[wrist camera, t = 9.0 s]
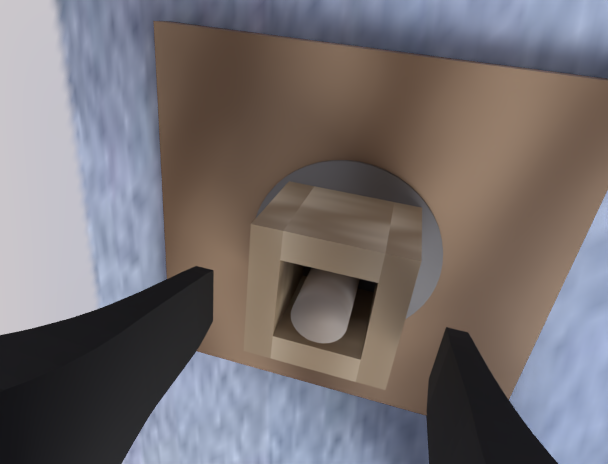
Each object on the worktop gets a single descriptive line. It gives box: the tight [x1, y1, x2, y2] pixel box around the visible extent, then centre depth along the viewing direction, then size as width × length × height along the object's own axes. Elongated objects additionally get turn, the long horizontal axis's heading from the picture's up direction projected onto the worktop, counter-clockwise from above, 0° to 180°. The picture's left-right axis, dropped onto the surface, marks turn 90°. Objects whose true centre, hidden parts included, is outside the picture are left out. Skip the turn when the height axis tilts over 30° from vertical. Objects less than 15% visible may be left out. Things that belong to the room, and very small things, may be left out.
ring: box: [244, 181, 422, 390], centre depth 15 cm, size 5×5×4 cm
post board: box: [154, 21, 608, 416], centre depth 15 cm, size 16×15×6 cm
